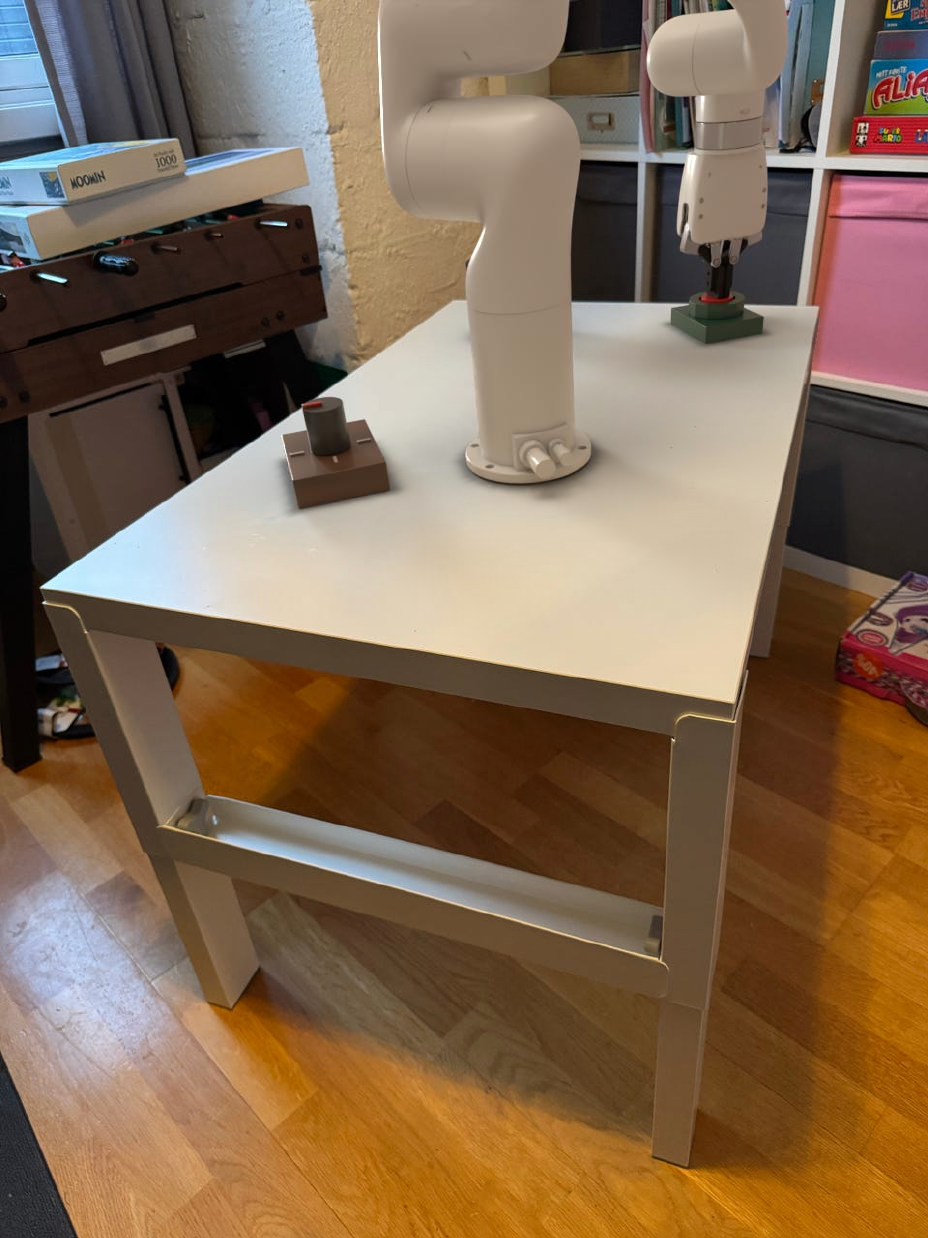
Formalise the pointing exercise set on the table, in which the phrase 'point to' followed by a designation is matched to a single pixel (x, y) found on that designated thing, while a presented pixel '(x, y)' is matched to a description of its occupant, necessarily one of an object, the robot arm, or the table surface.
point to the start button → (711, 299)
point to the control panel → (335, 468)
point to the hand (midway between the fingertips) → (717, 295)
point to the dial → (326, 425)
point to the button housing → (716, 319)
